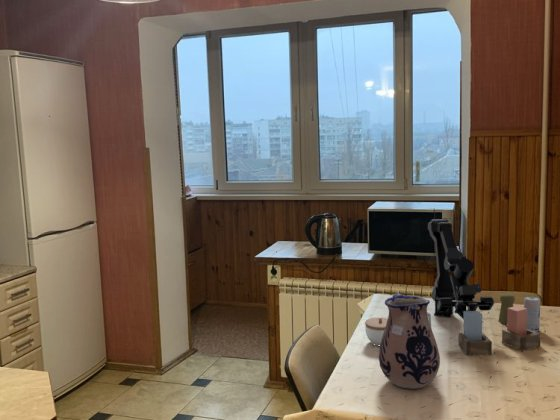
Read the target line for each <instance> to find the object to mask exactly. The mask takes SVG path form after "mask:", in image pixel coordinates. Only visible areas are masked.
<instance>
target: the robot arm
mask: <svg viewBox="0 0 560 420" xmlns="http://www.w3.org/2000/svg"><path fill="white" fill-rule="evenodd" d="M427 230H428V231H429V236H430V237H431V239H432V240H433V242H434V250H435V259H436V270H437V277H436V279H435V281H434V284H433V285H434V286H433V288H432V291H431V299H432V300H433V302H434V313H433V315H434V316H438V317H445V318H451V316H452V315H454V314H457V315H458V316H459V317H461V318H462V320H463V321H464V311H478V310H479V311H480V312H481V311H483V312H484V311H485V312H486V311H490V310H492V308H493V307H494V304H495V300H494V298H493V297H492V296H491V295H490V296H481V297H479V300H474V299H475V298H476V295H477V294H479V293H481V292H482V286H481V284H480V283H479V282H478V283H477V282H475V283H473V284H470V283H469V278H470V277H471V275H472V272H473V271H474V268H475V263H474V262H473V261H472V260H470V259H469V258H467V256H465V255H464V253H463V252H462V251H460V250H459V248H458V246H457V245H458V244H457V242H456V238H455V235H454V232H453V224H452V221H448V220H447V219H446V218H445V219H444V218H443V219H430V222H427Z"/></svg>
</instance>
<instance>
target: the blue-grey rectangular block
mask: <svg viewBox="0 0 560 420" xmlns="http://www.w3.org/2000/svg"><path fill="white" fill-rule="evenodd" d="M482 332H483V314H482V313H481V311H480V310H476V311H464V320H463V332H462V333H463V334H464V336H465V337H466V338H467V339H468V340H469V341H478V340H482Z"/></svg>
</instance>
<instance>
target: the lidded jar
mask: <svg viewBox="0 0 560 420" xmlns="http://www.w3.org/2000/svg"><path fill="white" fill-rule="evenodd" d="M387 320H388V317H372V318H368V319H366V320H365V321H364V325H365V334H366V337H367V339H368V340H369V341H370V343H371V344H372V343H373V344H375V345H374V346H376V345H380V344H381V340H382V336H383V333H384V330H385V327H386V323H387ZM373 344H372V345H373Z"/></svg>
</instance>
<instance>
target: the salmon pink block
mask: <svg viewBox="0 0 560 420" xmlns="http://www.w3.org/2000/svg"><path fill="white" fill-rule="evenodd" d="M506 330H508V331H510V332H513V333H516V334H519V335H521V336H524V335H527V309H526V308H524V306H520V305H516V306H513V307H510V308H507V324H506Z"/></svg>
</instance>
